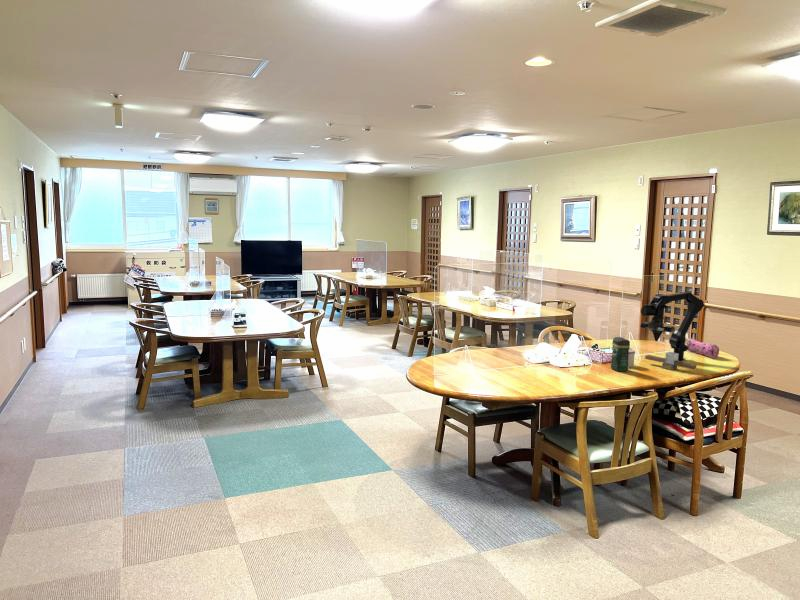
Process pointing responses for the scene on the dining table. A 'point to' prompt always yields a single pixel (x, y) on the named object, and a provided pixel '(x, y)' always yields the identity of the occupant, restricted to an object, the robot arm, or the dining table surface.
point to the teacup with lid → (631, 357)
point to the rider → (671, 357)
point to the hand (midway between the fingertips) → (656, 341)
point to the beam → (670, 366)
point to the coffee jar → (620, 354)
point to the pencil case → (702, 348)
